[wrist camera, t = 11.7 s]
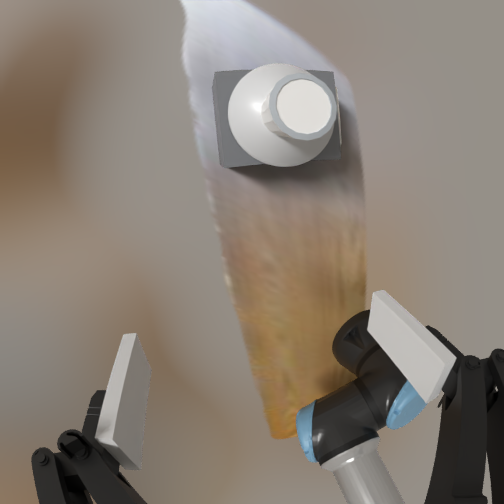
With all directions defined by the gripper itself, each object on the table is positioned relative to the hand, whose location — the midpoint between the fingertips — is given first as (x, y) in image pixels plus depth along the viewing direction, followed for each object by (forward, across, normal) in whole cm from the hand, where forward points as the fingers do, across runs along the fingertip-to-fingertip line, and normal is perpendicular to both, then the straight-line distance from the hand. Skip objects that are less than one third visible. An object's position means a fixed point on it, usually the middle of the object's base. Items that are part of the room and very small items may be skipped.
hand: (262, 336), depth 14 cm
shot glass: (+21, -8, -13) cm, 26 cm away
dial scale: (+31, -8, -13) cm, 34 cm away
